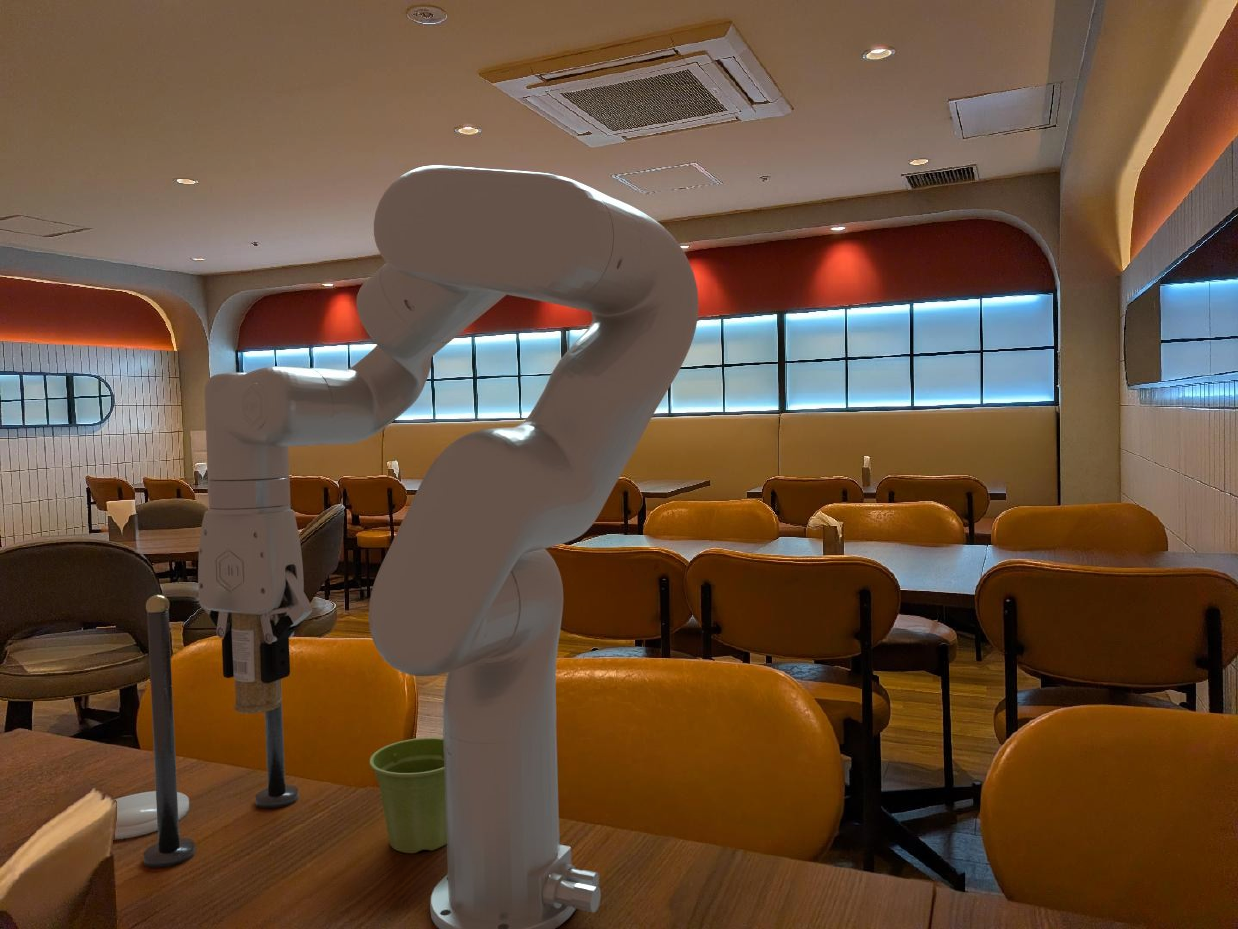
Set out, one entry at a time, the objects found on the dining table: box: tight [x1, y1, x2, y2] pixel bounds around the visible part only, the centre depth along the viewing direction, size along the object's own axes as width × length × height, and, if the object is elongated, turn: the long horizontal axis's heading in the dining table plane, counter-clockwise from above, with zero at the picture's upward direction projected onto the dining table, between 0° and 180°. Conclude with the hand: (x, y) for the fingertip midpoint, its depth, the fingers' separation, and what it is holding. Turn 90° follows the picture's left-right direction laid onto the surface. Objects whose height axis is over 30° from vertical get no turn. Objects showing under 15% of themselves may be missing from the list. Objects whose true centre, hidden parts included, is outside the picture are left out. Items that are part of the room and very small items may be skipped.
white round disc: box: [114, 790, 190, 840], centre depth 92 cm, size 10×10×1 cm
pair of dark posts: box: [142, 594, 299, 869], centre depth 89 cm, size 4×18×26 cm, turn 156°
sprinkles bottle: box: [232, 608, 283, 715], centre depth 87 cm, size 5×5×14 cm
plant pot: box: [369, 737, 447, 854], centre depth 86 cm, size 9×9×9 cm
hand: (256, 675), depth 87 cm, fingers closed on sprinkles bottle, 4 cm apart
